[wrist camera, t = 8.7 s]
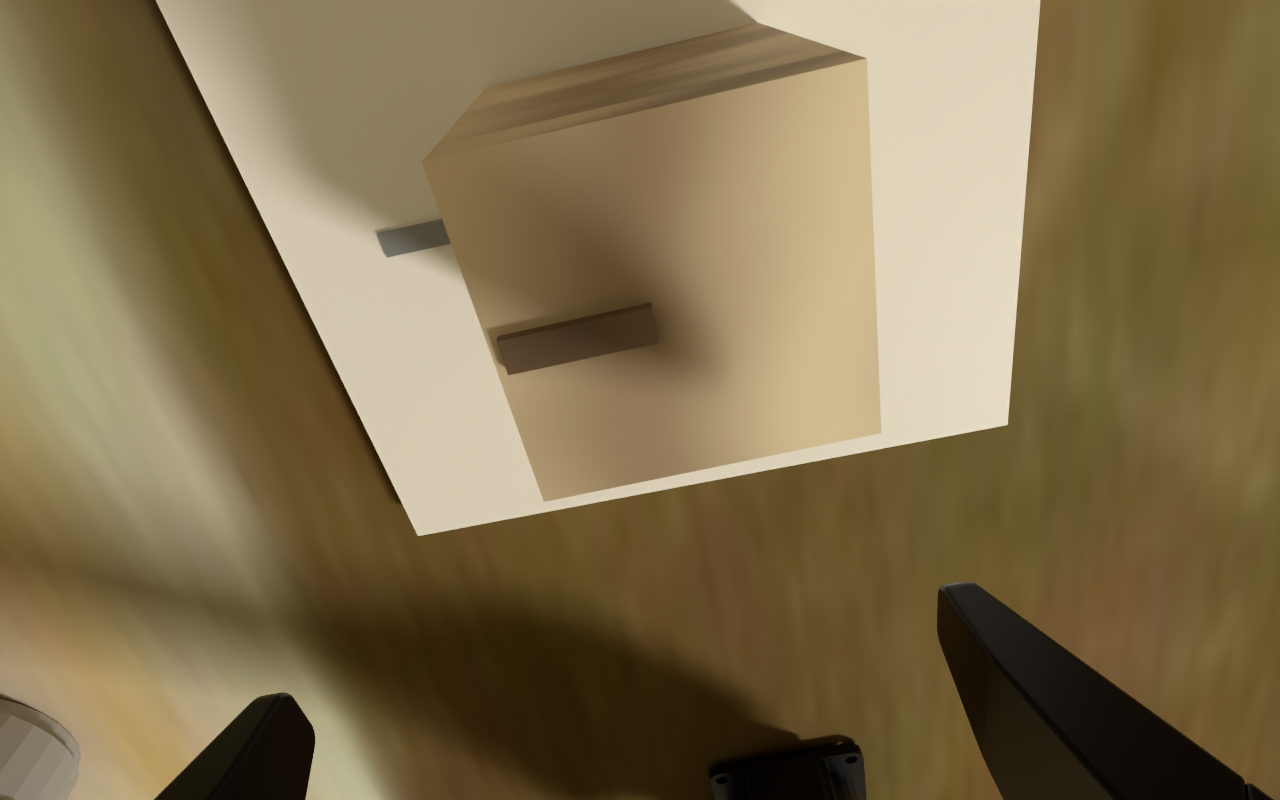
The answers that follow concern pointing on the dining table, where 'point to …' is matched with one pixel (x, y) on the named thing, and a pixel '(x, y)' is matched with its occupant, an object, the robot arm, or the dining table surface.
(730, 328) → the cardboard box
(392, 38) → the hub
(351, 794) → the dining table surface
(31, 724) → the coffee cup
